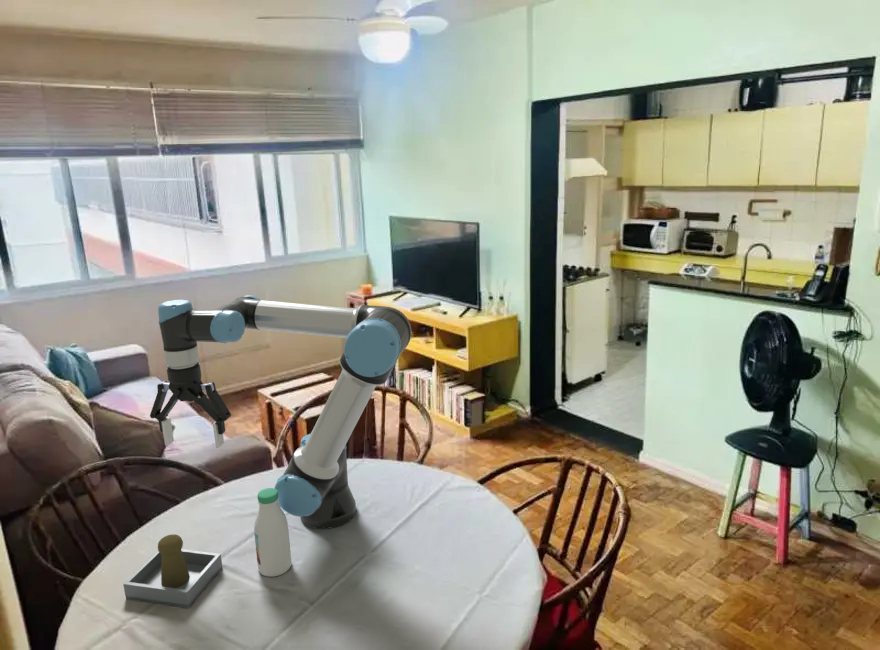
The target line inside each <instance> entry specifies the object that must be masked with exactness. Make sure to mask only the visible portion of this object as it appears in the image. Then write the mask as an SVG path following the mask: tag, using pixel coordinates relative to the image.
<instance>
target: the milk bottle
mask: <svg viewBox="0 0 880 650" xmlns="http://www.w3.org/2000/svg"><path fill="white" fill-rule="evenodd" d="M278 500H279V498H278V491H277V490H276V489H274V488H273V487H269V488H263V489H262V490H261V489H260V491H259V492H257V503H258V505H259V507H258V511H257V514H256V516H255V520H254V525H253V526H254V527H253V528H254V529H253V531H254V541H255V543H254V544H255V553H256V560H257V561H256V562H257V569H258V571H259V573H260V575H262V576H264V577H269V578H272V577H278V576H280V575H281V576H282V575H283V574H285V573H287V572H288V570H289V569H291V566H292V554H291V552H292V551H291V543H290V542H291V541H290V532H289V524H288V520H287V516H286V513H284V512H285V511H284V510H283V509H282V508H281V507H280V506H279V504H278Z"/></svg>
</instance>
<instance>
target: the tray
mask: <svg viewBox="0 0 880 650" xmlns="http://www.w3.org/2000/svg"><path fill="white" fill-rule="evenodd" d="M181 551H182V554H183V557H184V560H185V563H186V566H187V569H188V573H189V576H190V578H189V580H188V582H187V583H185V584H184V585H182V586H180V587H178V588H169V587H163V586H162V584H161V560H162V555H161V554H160V553H159V551H158V550H157V551H156V552H155V553H154V554H153V555H152V556H151V557H149V559H148V560H146V561H145V562H144V564H142V565H141V566H140V567H139V568H138V569H136V571H135V572H134V573H133V574H132V575H130V577H129V578H128V579H126V581H124V583H123V590H124V591H123V592H124V595H125V600H128V601H135V602H136V601H137V602H143V603H149V604H150V603H151V604H156V605H157V604H158V605H164V606H169V607H170V606H171V607H176V608H183V609H185V608H186V609H190V608H191V607H192V606H193V605H194V603H195V602H196V601H197V600H198V598H200V596H201V595H202V593H204V591H205V590H206V589H207V588H208V586H210V584H211V582H213V581H214V579H216V577H217V576H218V574H219V573H220V572H221V571H222V570H223V560H222V554H221V553H217V552H216V553H215V552H209V551H208V552H207V551H201V550H191V549H186V548H182V549H181Z"/></svg>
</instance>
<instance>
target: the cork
mask: <svg viewBox="0 0 880 650" xmlns="http://www.w3.org/2000/svg"><path fill="white" fill-rule="evenodd" d="M183 546H184V541H183V539H182V536H180V535H178V534H176V533H175V534H173V533H172V534H167V535H165V536H163V537H162V538H160V540H159V542H158V543H157V551H159V553H160V554H161V555H162V560H161V584H162V586H163V587H169V588H178V587H180V586H182V585H184V584H185V583H187V582H188V580H189V578H190V576H189V573H188V569H187V566H186V563H185V560H184V557H183V554H182V551H181V549H183Z"/></svg>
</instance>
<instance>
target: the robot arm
mask: <svg viewBox="0 0 880 650" xmlns="http://www.w3.org/2000/svg"><path fill="white" fill-rule="evenodd" d="M157 311H158V325H159V329H160V334H161V339H162V344H163V346H162V347H163V355H164V356H163V357H164V362H165V366H167V367H166V373H167V380H168V381H167V380H163V381H161V382H160V383H158V384H157V387H156V388H157V393H156V397H155V399H154V403H153V405H152V407H151V411H150V414H149V417H150V418H151V419H156V420H157V421H158V425H159V431H160V432H161V433H163V434H162V435H163V440H164V446H167V447H168V446H169V445H171V444H173V442H175V439H174V432H173V427H172V419H171V417H170V416H169V414H170V412H171V411H172V409H174V407H175V405H176V404H177V403H178V401H180V402H186V401H187V402H192V403H193V402H194V403H195V404H196V405H199V407H201V408H202V409H203V410H204V412H205V413H207V414H208V416H210V418H212V420H213V421H214V422H213V423H212V427H213V434H214V441H215V448H216V449H218V448H221V446H223V445H224V444H225V439H224V433H225V432H226V425H225V422H226V421H227V420H229V418H231V417H232V413H231V411H230V410H229V408H228V407H227V405H226V403H225V402H224V400H223V399H222V397H221V395H220V394H219V392H218V391H217V388H216V384H215V382H214V381H211V382H209V383H203V382H202V381H203V380H202V369H201V363H200V358H199V357H200V356H199V349H198V342H200V343H201V342H203V343H221V344H227V343H236V342H239V341H241V339H242V338H243V335H244V334H245V330H246V329H247V330H248V329H249V330H258V331H260V330H262V331H273V332H280V333H281V332H282V333H283V332H284V333H289V334H291V333H292V334H301V335H313V336H322V337H323V336H324V337H330V338H331V337H332V338H340V339H341V338H343V339H345V342H344V345H343V346H344V347H343V352H342V355H341V356H340V359H339V365H340V367H341V369H342V370H341V372H340V374H339V376H338V378H337V379H336V382H335V384H334V386H333V388H332V390H331V392H330V394H329V396H328V398H327V400H326V402H325V404H324V406H323V408H322V410H321V412H320V414H319V416H318V419H317V421H316V422H315V425H314V426H313V429H312V431H311V432H310V433H308V434H307V435H304V436H303V437H302V438H301V440H300V447H298V448H297V449H296V450H295V451H294V453H293V455H292V457H291V459H290V461H289V463H288V464H287V467H286V469H285V470H284V472H283V474H282V475H281V476H280V477H279V478H278V479H277V481H276V483H275V484H274V489H276V490H277V491H278V498H279V500H278V504H279V506H280V508H281V509H282V511H283V512H286V513H287V514H289V515H291V516H295V517H300V521H301V522H302V523H303V524H304V525H306V526H307V527H310V528H313V529H320V530H322V529H323V530H324V529H333V528H337V527H340V526H342V524H343V525H344V523H345V524H346V522H347V523H348V522H350V521H351V520H352V519H353V518H354V517H355V516H356V513H357V505H356V500H355V498H354V495H353V493H352V491H351V488H350V486H349V480H348V462H347V460H348V458H347V443H348V441H349V439H350V437H351V436H352V433H353V431H354V429H355V427H356V426H357V424H358V421H359V420H360V419H361V418H360V417H361V416H362V414H363V412H364V410H365V408H366V406H367V404H368V403H369V401H370V399H371V396H372V394H373V393H374V391H375V389H376V387H379V386H383V385H384V384H386V382H387V381H388V379H389V377H390V374H391V373H392V371H393V369H394V368H395V365H396V363H397V361H398V360H399V358H400V356H401V354H402V353H403V352H404V351H405V350H406V348H407V347H408V345H409V344H410V341H411V339H412V327H411V323H410V321H409V319H408V317H407V316H406V315H405V314H404V313H403V312H402V311H401V310H399V309H397V308H395V307H390V306H384V305H369V304H360V305H359V306H358V307H342V306H333V305H322V304H321V305H319V304H310V303H298V302H297V303H295V302H286V301H277V300H276V301H275V300H274V301H273V300H272V301H271V300H264V299H263V300H262V299H260V298H259V297H257V296H255V295H251V294H249V295H248V294H247V295H244V296H243V295H242V296H240V297H237V298H236V299H234V300H232V301H230V302H228V303H226V304H222V305H221V306H218V307H216V308H214V309H206V310H205V309H202V310H200V309H194V307H193V305H192V301H190V300H186V299H172V300H167V301H164V302H162V303H159V305H158V307H157ZM168 391H170V392H171V393H172V395H171V396H170V398H169V400H168V402H167V403H166V404H165V405H164V403H165V400H166V397H167V394H168ZM205 393H206V394H205ZM163 405H164V407H163ZM162 408H163V409H162ZM168 416H169V417H168ZM353 516H354V517H353ZM350 519H351V520H350ZM349 520H350V521H349ZM339 525H340V526H339ZM336 526H337V527H336Z"/></svg>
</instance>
